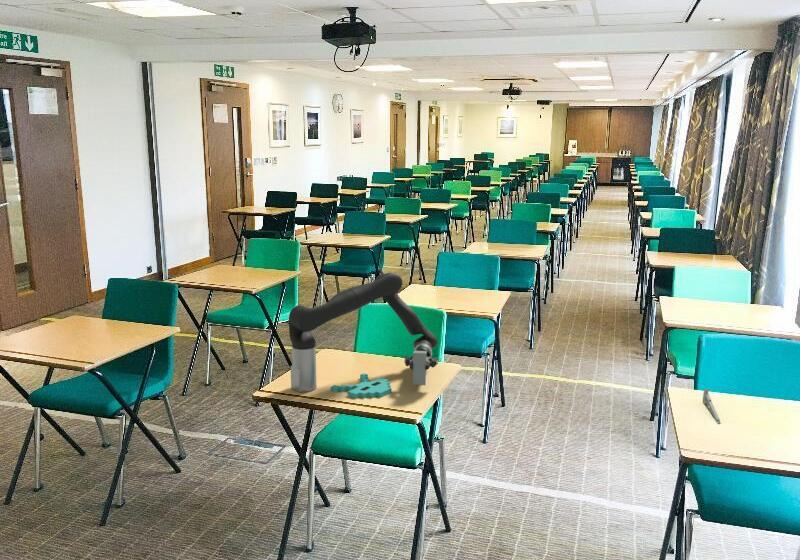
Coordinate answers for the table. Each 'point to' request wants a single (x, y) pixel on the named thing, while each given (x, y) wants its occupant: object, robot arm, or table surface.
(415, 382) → the grey rectangular block
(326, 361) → the table surface
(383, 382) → the alien figure
